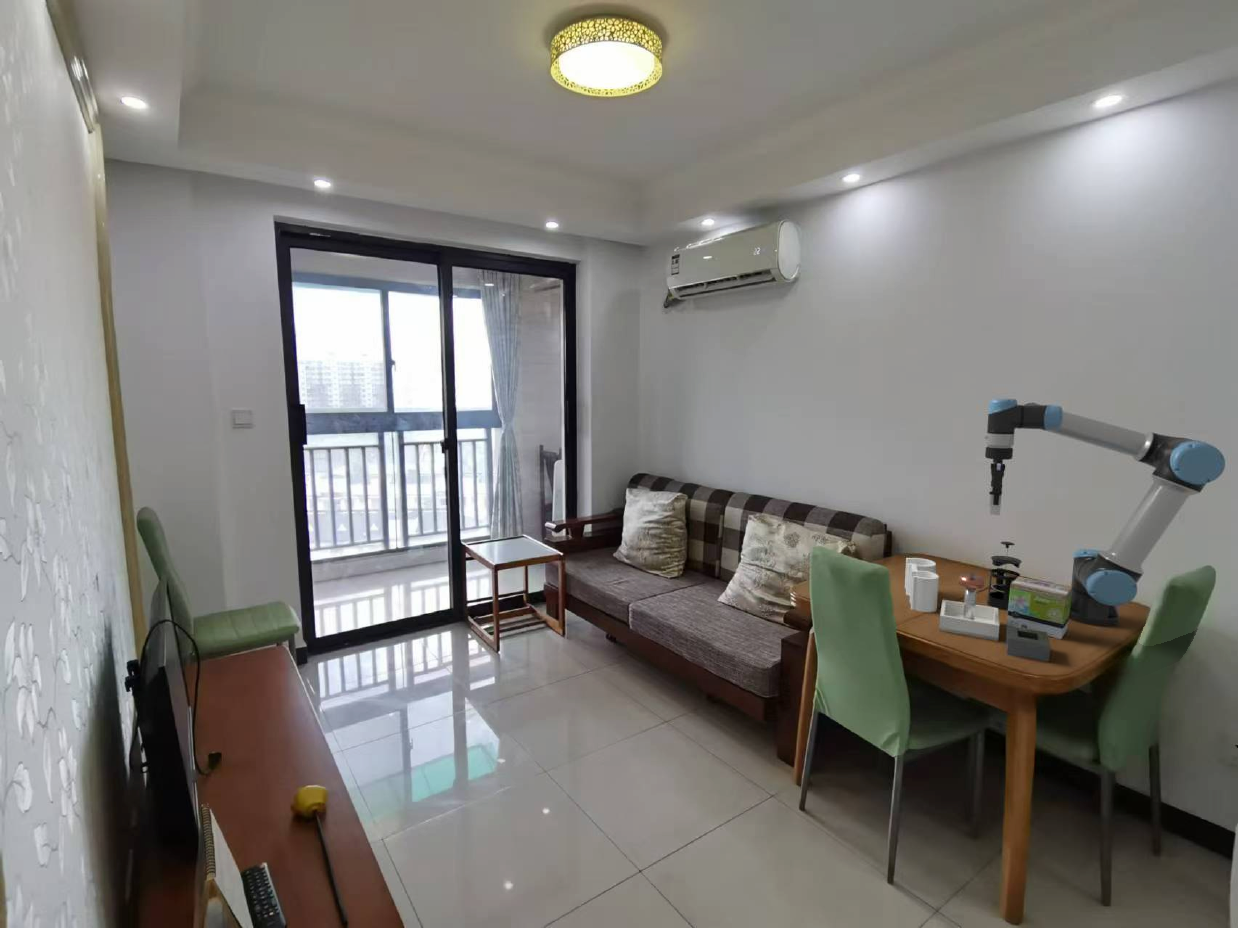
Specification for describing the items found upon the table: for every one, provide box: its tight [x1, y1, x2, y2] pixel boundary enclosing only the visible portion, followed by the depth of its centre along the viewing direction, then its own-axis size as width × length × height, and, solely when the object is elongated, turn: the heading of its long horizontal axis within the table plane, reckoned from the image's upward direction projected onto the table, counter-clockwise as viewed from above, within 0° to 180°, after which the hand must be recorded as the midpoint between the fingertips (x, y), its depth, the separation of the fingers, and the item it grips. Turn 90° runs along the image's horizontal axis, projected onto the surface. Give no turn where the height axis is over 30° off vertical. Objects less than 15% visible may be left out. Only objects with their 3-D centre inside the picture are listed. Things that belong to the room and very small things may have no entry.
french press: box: [986, 541, 1022, 611], centre depth 211 cm, size 12×9×23 cm
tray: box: [938, 599, 1000, 642], centre depth 194 cm, size 16×16×5 cm
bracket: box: [904, 557, 940, 613], centre depth 217 cm, size 25×10×12 cm, turn 158°
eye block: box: [1005, 625, 1051, 663], centre depth 176 cm, size 10×10×5 cm
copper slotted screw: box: [958, 572, 985, 620], centre depth 193 cm, size 7×7×16 cm
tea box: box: [1006, 576, 1072, 640], centre depth 191 cm, size 15×10×15 cm, turn 45°
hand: (994, 510), depth 197 cm, fingers open, 13 cm apart
